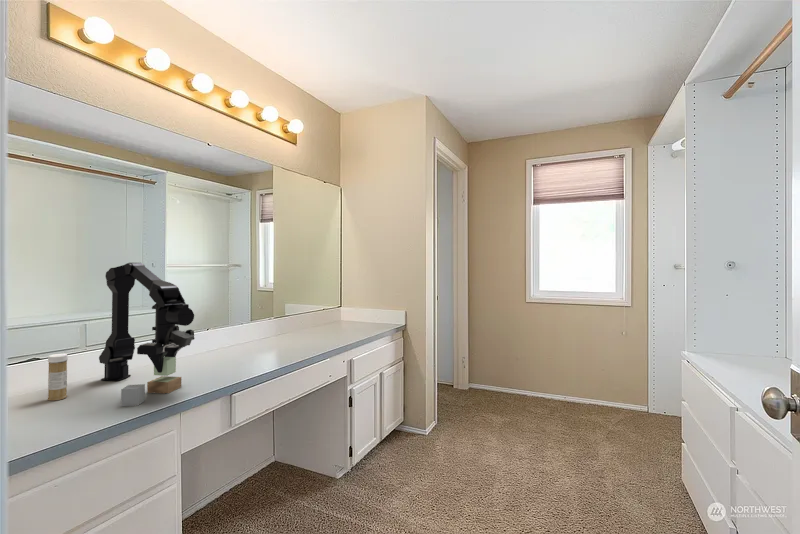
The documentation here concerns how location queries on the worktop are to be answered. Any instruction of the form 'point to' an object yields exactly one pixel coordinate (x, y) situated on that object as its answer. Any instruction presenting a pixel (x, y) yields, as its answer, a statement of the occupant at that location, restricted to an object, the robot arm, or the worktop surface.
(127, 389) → the slate block
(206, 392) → the worktop surface
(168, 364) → the sage block
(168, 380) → the base block
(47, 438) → the worktop surface
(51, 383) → the sprinkles bottle
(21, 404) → the worktop surface
